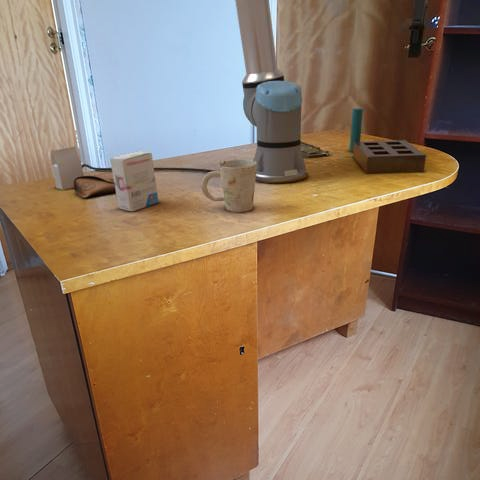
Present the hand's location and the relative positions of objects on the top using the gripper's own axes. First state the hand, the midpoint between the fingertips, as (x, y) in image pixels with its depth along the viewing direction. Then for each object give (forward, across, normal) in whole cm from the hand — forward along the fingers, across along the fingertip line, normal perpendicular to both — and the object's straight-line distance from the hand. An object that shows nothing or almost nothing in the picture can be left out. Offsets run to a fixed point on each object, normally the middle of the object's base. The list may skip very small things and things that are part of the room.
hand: (414, 56), depth 140 cm
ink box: (+28, -66, +55) cm, 91 cm away
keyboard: (+28, +2, +32) cm, 42 cm away
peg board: (+27, -12, +4) cm, 30 cm away
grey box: (+28, -54, +83) cm, 103 cm away
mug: (+28, -64, +33) cm, 77 cm away
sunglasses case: (+28, -55, +70) cm, 93 cm away
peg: (+27, +4, +15) cm, 32 cm away
